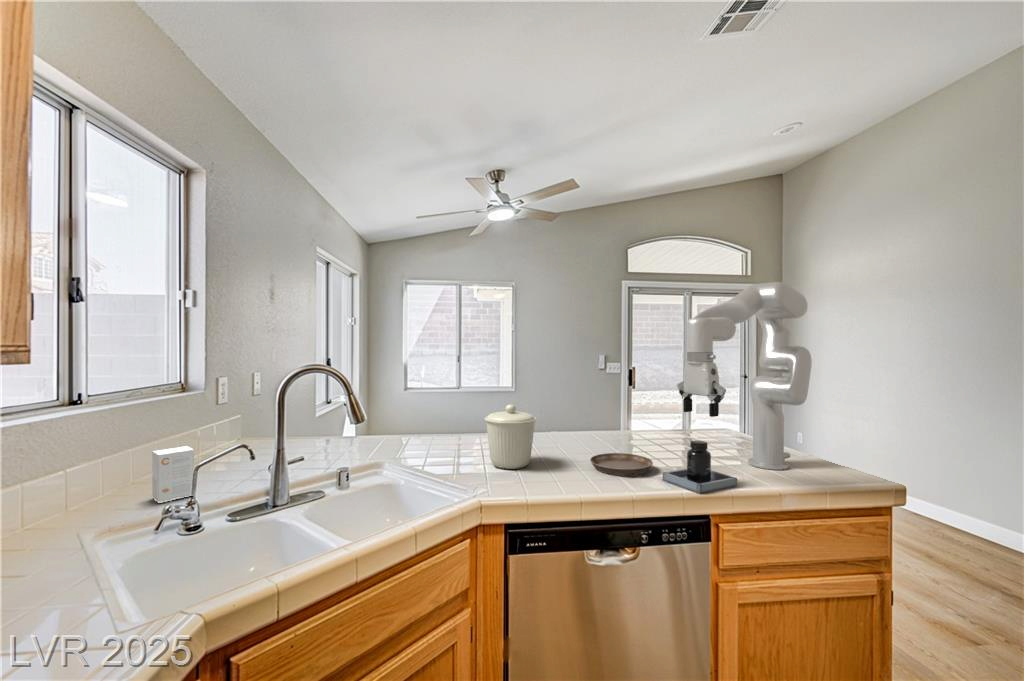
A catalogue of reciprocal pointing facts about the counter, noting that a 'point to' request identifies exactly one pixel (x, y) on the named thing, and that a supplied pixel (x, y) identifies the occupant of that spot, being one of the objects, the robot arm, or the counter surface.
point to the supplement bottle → (698, 462)
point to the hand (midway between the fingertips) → (700, 413)
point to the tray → (716, 483)
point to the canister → (510, 437)
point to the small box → (172, 473)
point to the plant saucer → (621, 463)
